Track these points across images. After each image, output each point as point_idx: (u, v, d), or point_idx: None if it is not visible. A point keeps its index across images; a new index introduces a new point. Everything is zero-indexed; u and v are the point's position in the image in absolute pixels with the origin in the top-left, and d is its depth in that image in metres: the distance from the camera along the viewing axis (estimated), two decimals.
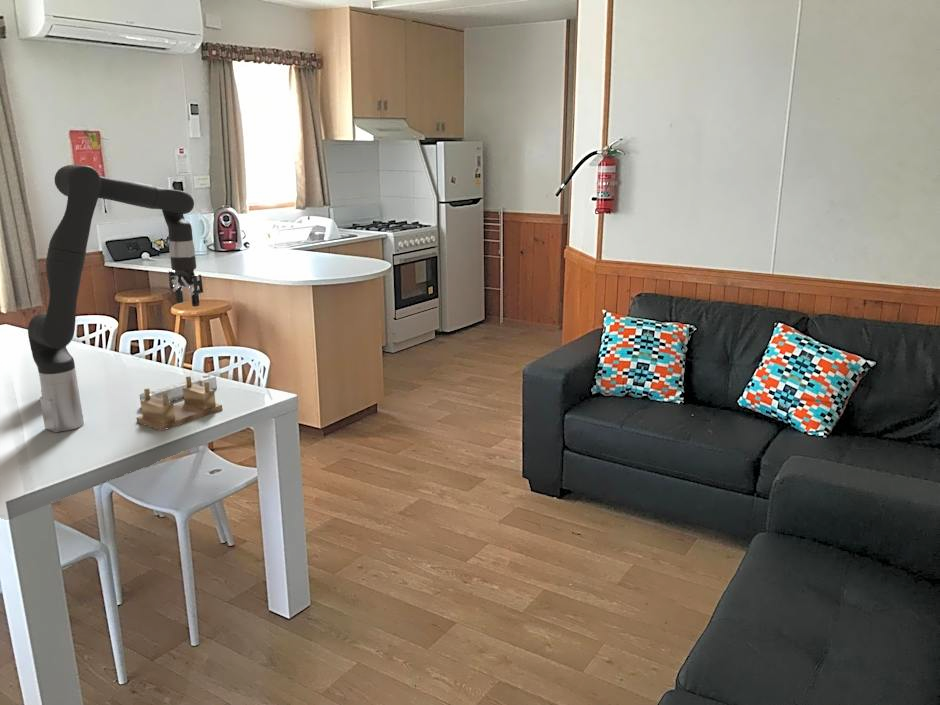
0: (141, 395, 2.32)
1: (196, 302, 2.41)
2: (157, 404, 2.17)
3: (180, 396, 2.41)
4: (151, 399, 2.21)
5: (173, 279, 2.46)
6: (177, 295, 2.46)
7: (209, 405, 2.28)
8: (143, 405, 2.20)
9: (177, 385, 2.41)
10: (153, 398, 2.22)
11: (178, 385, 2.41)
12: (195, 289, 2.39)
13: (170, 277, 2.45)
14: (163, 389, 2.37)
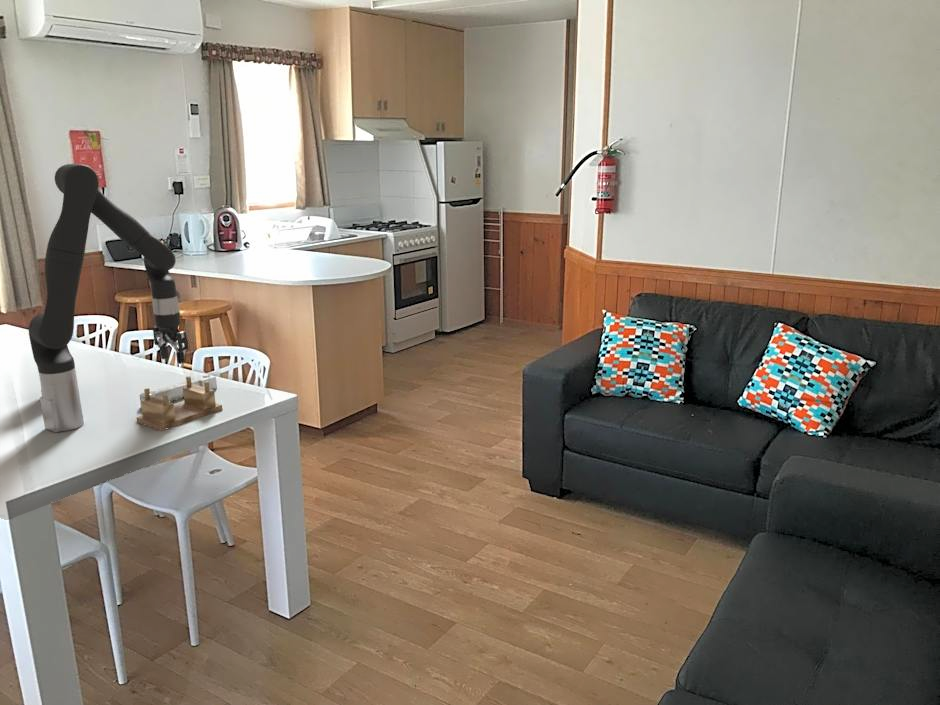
0: (141, 395, 2.32)
1: (181, 359, 2.35)
2: (157, 404, 2.17)
3: (180, 396, 2.41)
4: (151, 399, 2.21)
5: (158, 335, 2.39)
6: (162, 351, 2.39)
7: (209, 405, 2.28)
8: (143, 405, 2.20)
9: (177, 385, 2.41)
10: (153, 398, 2.22)
11: (178, 385, 2.41)
12: (180, 347, 2.32)
13: (154, 333, 2.38)
14: (163, 389, 2.37)
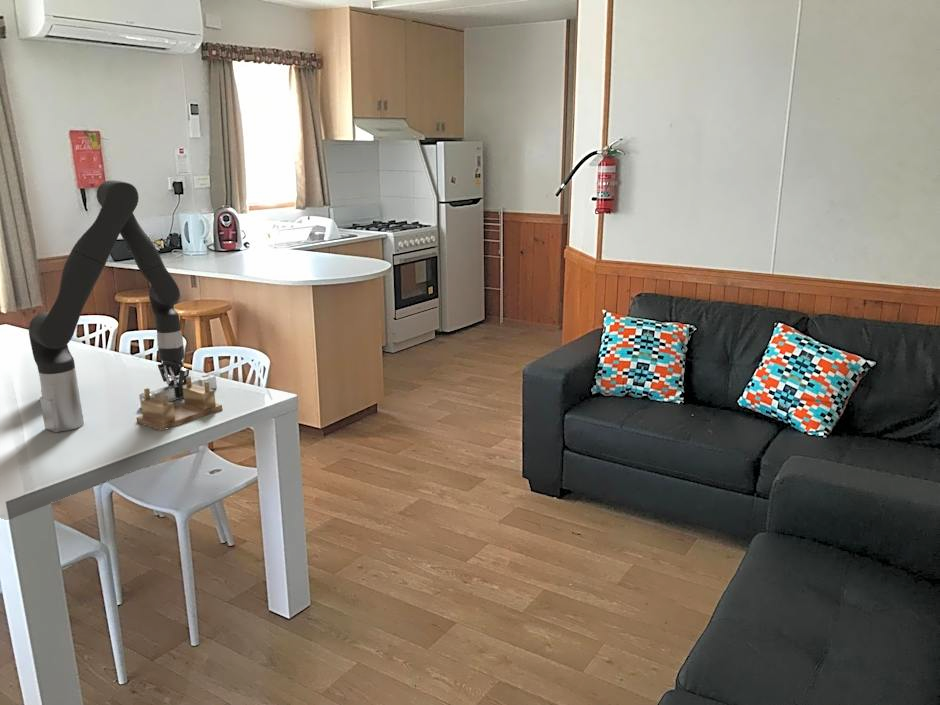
0: (141, 395, 2.32)
1: (180, 394, 2.39)
2: (157, 404, 2.17)
3: None
4: (151, 399, 2.21)
5: (164, 371, 2.41)
6: None
7: (209, 405, 2.28)
8: (143, 405, 2.20)
9: None
10: (153, 398, 2.22)
11: None
12: (179, 382, 2.36)
13: (160, 370, 2.41)
14: (163, 389, 2.37)
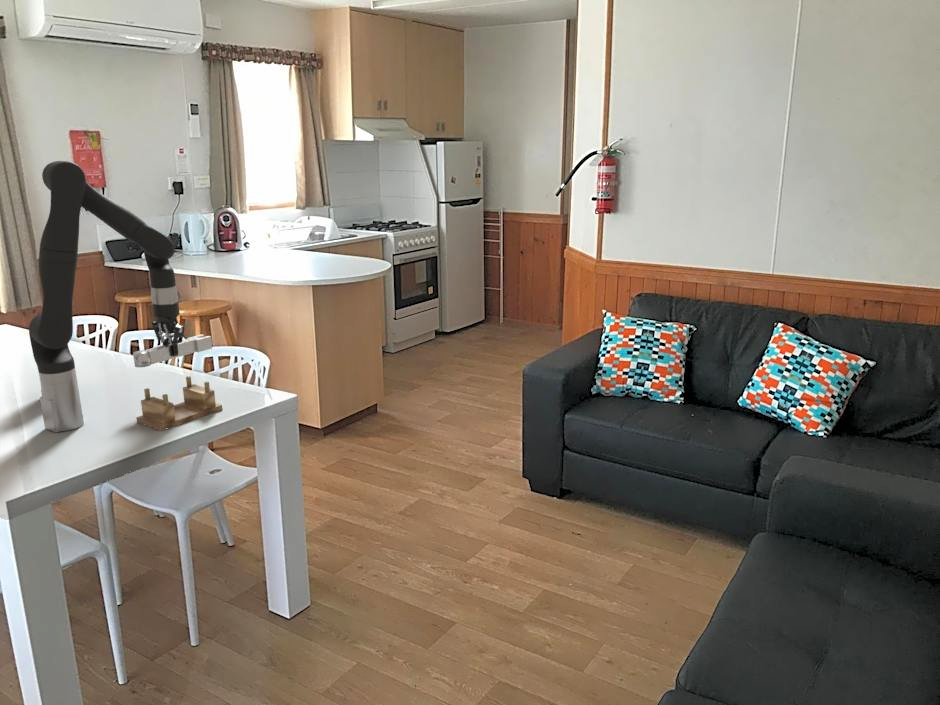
0: (135, 353, 2.26)
1: (175, 352, 2.33)
2: (157, 404, 2.17)
3: (175, 356, 2.35)
4: (151, 399, 2.21)
5: (158, 329, 2.35)
6: None
7: (209, 405, 2.28)
8: (143, 405, 2.20)
9: None
10: (153, 398, 2.22)
11: None
12: (174, 340, 2.30)
13: (154, 328, 2.35)
14: (157, 348, 2.31)
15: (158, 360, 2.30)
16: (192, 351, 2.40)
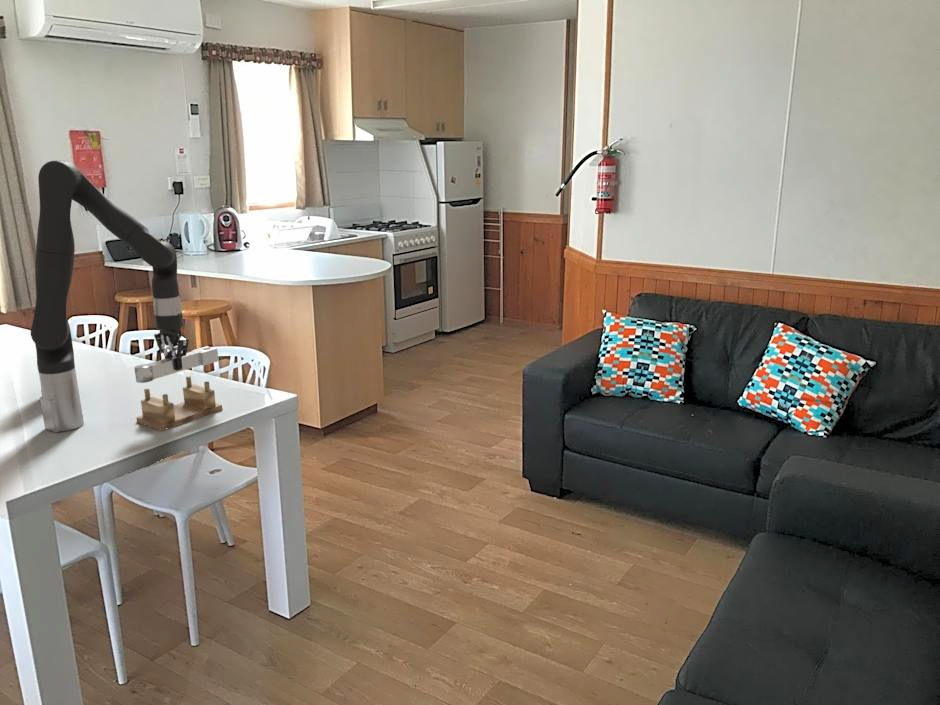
0: (136, 367, 2.12)
1: (179, 366, 2.20)
2: (157, 404, 2.17)
3: None
4: (151, 399, 2.21)
5: (161, 341, 2.22)
6: None
7: (209, 405, 2.28)
8: (143, 405, 2.20)
9: None
10: (153, 398, 2.22)
11: None
12: (178, 353, 2.17)
13: (157, 340, 2.22)
14: (160, 361, 2.18)
15: (161, 375, 2.17)
16: (197, 364, 2.26)
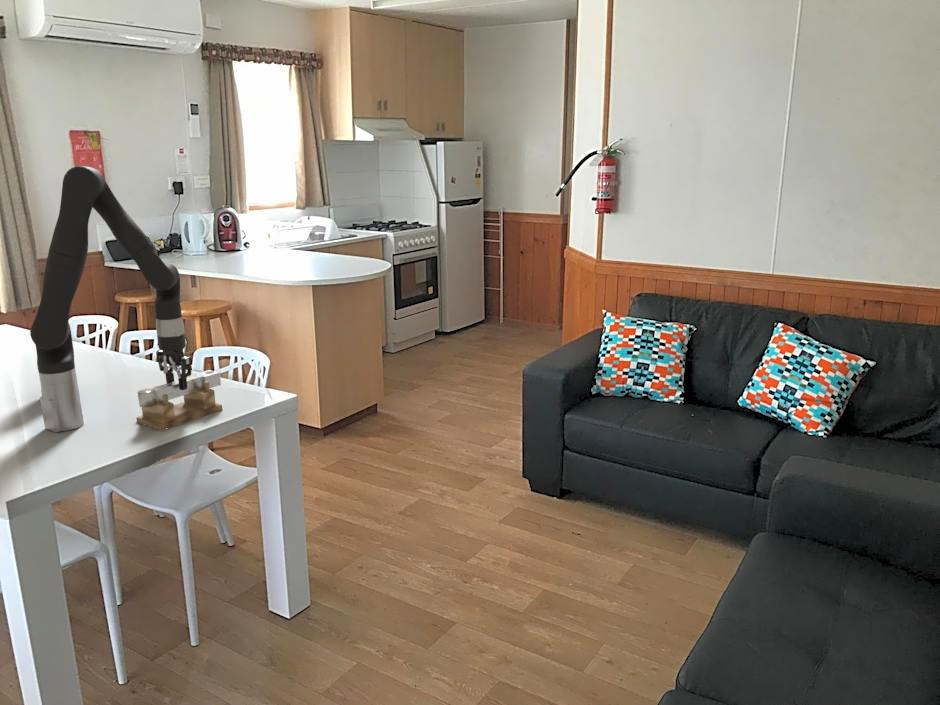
0: (139, 392, 2.14)
1: (184, 386, 2.21)
2: (157, 404, 2.17)
3: (182, 394, 2.24)
4: None
5: (162, 360, 2.24)
6: (168, 378, 2.24)
7: (209, 405, 2.28)
8: None
9: (178, 381, 2.24)
10: None
11: None
12: (183, 373, 2.18)
13: (158, 358, 2.23)
14: (163, 386, 2.20)
15: None
16: (199, 388, 2.28)
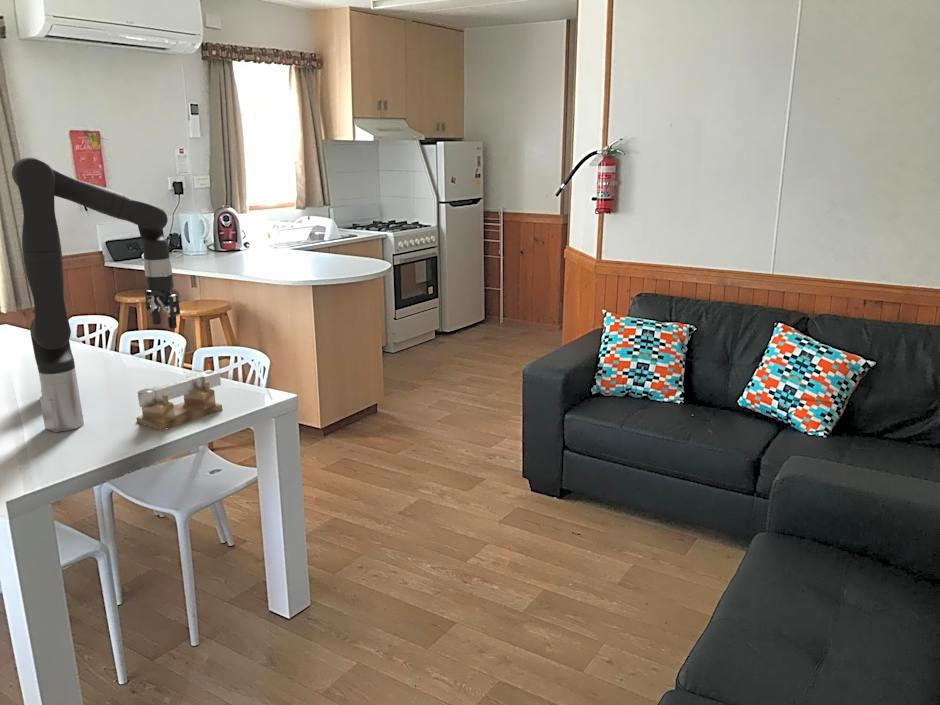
0: (139, 392, 2.14)
1: (173, 324, 2.25)
2: (157, 404, 2.17)
3: (182, 394, 2.24)
4: None
5: (150, 299, 2.30)
6: (154, 316, 2.30)
7: (209, 405, 2.28)
8: None
9: (178, 381, 2.24)
10: None
11: (179, 381, 2.24)
12: (171, 311, 2.22)
13: (146, 297, 2.29)
14: (163, 386, 2.20)
15: None
16: (199, 388, 2.28)
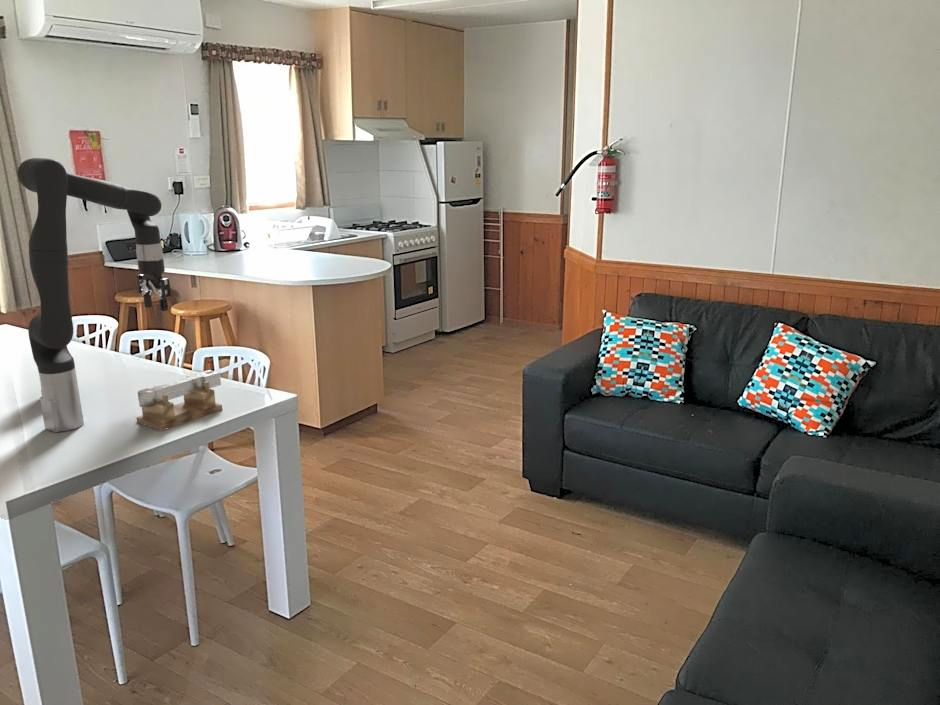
0: (139, 392, 2.14)
1: (164, 307, 2.35)
2: (157, 404, 2.17)
3: (182, 394, 2.24)
4: None
5: (141, 283, 2.39)
6: (145, 299, 2.39)
7: (209, 405, 2.28)
8: None
9: (178, 381, 2.24)
10: None
11: (179, 381, 2.24)
12: (163, 293, 2.32)
13: (138, 281, 2.38)
14: (163, 386, 2.20)
15: None
16: (199, 388, 2.28)
